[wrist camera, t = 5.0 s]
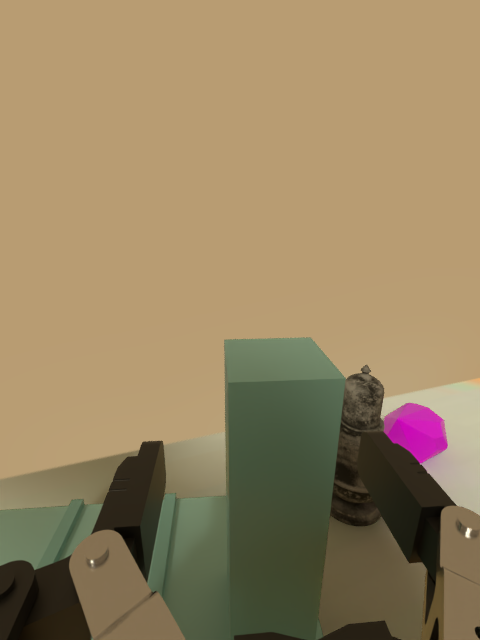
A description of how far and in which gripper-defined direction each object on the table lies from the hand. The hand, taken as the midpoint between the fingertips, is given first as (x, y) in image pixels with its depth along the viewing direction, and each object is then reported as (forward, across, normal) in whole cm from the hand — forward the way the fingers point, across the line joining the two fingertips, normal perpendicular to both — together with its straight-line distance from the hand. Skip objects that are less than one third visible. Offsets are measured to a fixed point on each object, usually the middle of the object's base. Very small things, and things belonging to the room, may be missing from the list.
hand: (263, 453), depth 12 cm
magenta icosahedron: (+15, -18, +13) cm, 26 cm away
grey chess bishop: (+9, -9, +13) cm, 18 cm away
